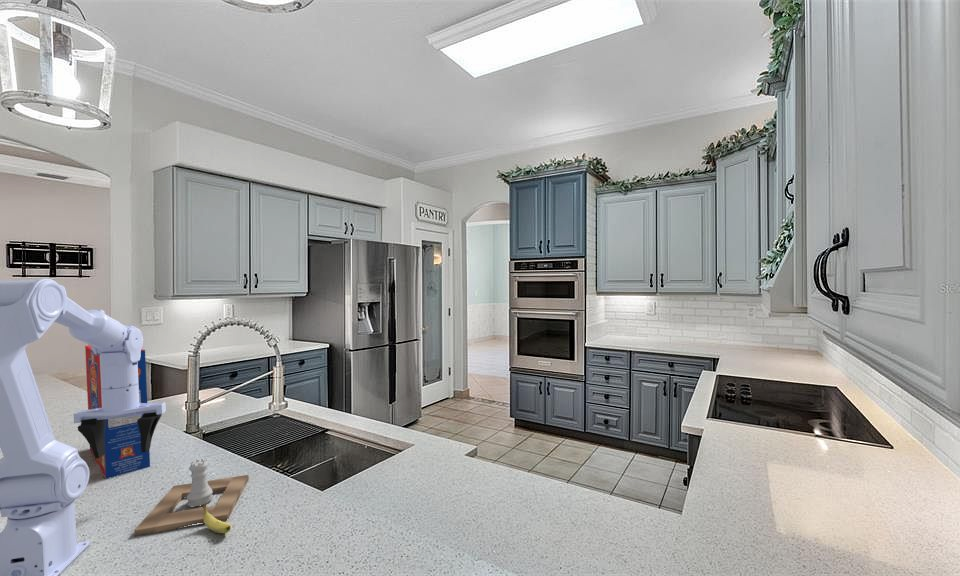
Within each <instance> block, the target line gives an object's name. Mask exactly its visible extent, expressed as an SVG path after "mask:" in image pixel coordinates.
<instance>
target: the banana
mask: <svg viewBox="0 0 960 576" xmlns="http://www.w3.org/2000/svg"><path fill="white" fill-rule="evenodd" d="M206 507H207V504H206V503H205V504H202V505H201V506H199V508H203V509H204V519H203V520H204V523H205V524H204V525H205V526H206V528H208V529H209V530H210V531H212V532H214V533H218V534H227V533H229V532H230V531H231V530H232V529H231V528H232V526H231V523H229V522H226V521H220V520H217V519H216V518H214V517H213V516H212V515H211V514H209V513H208V511H207V508H206Z"/></svg>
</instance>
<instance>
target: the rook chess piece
mask: <svg viewBox="0 0 960 576" xmlns="http://www.w3.org/2000/svg"><path fill="white" fill-rule="evenodd" d="M209 465H210V464H209V463H208V462H207V459H205V458H202V459H201V461H200V459H196V461H195V460H193V461H192V462H191V463H190V466H189V467H188V470H189V471H190V472H191V474H190V478H191V483H192V485H191V490H190V492H189V495H188V496H187V498H186V500H187V501H186V505H187V506H188V507H190V506H194V507H193V508H196V507H195V506H199V507H200V505H202V504H205V503H207V504H209V503H211V501H212V500H213V499H214V495H213V494H214V493H213V491H212V489H211V488H210V486H209V485H208V482H207V481H208V477H207V474H208V471H207V468H208V466H209ZM212 493H213V494H212Z"/></svg>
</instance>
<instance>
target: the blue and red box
mask: <svg viewBox="0 0 960 576" xmlns="http://www.w3.org/2000/svg"><path fill="white" fill-rule="evenodd" d="M84 348H85V349H84V350H85V353H84V354H85V370H86V392H87V394H86V395H87V410H90V409H97V408H102V396H101V373H100V355H95V354H94V353H93V351H92V349H91V347H90V346H89V345H85V347H84ZM146 363H147V362H146V350H145V349H143V348H141V357H140V360H139V361H138V384H139V403H148V391H147V390H148V389H147V387H148V386H147V365H146ZM141 417H143V415H140V416H131V417H121V418H112V419H107V420H106V426H105V436H104V437H105V454H104V455H103V456H101V457H100V458H94V457H95V456H94V454H93V451H92V449H91V447H90V446H89V450H91V451H90V453H91V455H92V456H93V458H94V460H95V459H96V460H95V461H97V462H96V463H97V466H98V467H99V469H100V471H101V472H102V474H103V477H104V479H106V480H107V479H111V478H114V476H115V477H118V476H121V474H122V475H125V474H129V473H133V472H135V471H139V470H143V469H146V468H150V467H151V458H150V457H151V454H150V449H149V450H148V451H146V452H141V436H140V430H139V426H138V423H137V420H138V419H139V418H141ZM117 475H118V476H117ZM110 477H111V478H110Z"/></svg>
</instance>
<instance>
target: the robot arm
mask: <svg viewBox="0 0 960 576" xmlns="http://www.w3.org/2000/svg"><path fill="white" fill-rule="evenodd" d="M54 323H56V324H59V325H62V326H64V327H67V328H68V332H69V334H70V335H71V336H72V337H73V338H74V339H77V340H78V341H81V342H83V343H85V344H87V346H90V347H91V349H92V351H93V353H94V354H95V355H100V373H101V396H102V408H97V409H90V410H88V409H84V410H79V411H76V412H74V413H73V423H74V424H79V425H78V426H77V431H78V432H79V433H80V434H81V435H82V436H83V437H84V439H85V440H86V441H87V443H88V445H89V448H90V447H91V449H92V451H93V454H94V456H95V458H100V457H101V456H103V455H104V454H105V437H104V436H105V426H106V420H107V419H112V418H121V417H131V416H140V415H143V417H141V418H139V419H138V420H137V423H138V426H139V430H140V436H141V452H146V451H148V450H149V451H150V449H151V444H152V440H153V435H154V433H155V431H156V427H157V425H158V423H159V421H160V419H161V417H162V415H163V414H164V413H165V412H167V408H166V407H167V405H166V402H165V401H163V402H147V403H139V384H138V361H139V360H140V357H141V349H143V345H144V340H145V339H144V337H143V333H142V331H141V329H139V328H138V327H136V326H134V325H124V324H123V323H120V321H119V320H117V319H114V318H113V317H111V316H110V315H108V314H106V312H105V310H103V309H101V308H100V309H99V308H98V309H89V310H86V309H85V308H83V307H82V306H81V305H79V304H78V303H76V302H75V301H74V300H72V299H70V298H69V297H68V294H67V290H66V287H65V286H64V285H61V284H59V283H58V282H57V281H56V280H54V279H52V278H38V279H19V280H12V279H11V280H0V450H1V453H2V456H3V457H1V458H0V518H7V519H6V524H5V526H4V528H3V529H2V531H1V532H0V576H59V575H60V574H62V572H63V571H65V570H66V569H67V568H68V567H69V565H71V563H72V562H73V561H74V560H75V559H76V558H78V556H80V554H82V553H83V551H84V550H85V549H87V548H88V547H89V546H90V545H91V541H90V540H86V541H80V542H79V541H78V542H77V526H76V525H77V523H76V521H77V519H76V505H75V504H76V500H77V499H79V498H80V497H81V495H82V494H83V493H84V491H85V490H86V488H87V487H88V484H89V481H90V468H89V466H88V464H87V462H86V461H85V460H84V459H83V458H82V457H81V456H80V454H79V452H78V449H77V448H75V447H74V446H71V445H69V444H66V443H63V442H61V441H58V440H56V438H55V435H54V432H53V429H52V426H51V423H50V420H49V417H48V414H47V411H46V408H45V405H44V403H43V399H42V396H41V394H40V391H39V387H38V385H37V381H36V378H35V375H34V372H33V369H32V367H31V364H30V361H29V359H28V355H27V352H26V349H27V347H28V345H29V344H31V343H34V342H35V341H38V340H39V339H41V338H42V336H43V335H44V334H45V333H46V332H47V331H48V329H49V328H51V326H52V325H53V324H54ZM93 454H92V455H93ZM94 456H93V457H94ZM95 458H94V459H95Z"/></svg>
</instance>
